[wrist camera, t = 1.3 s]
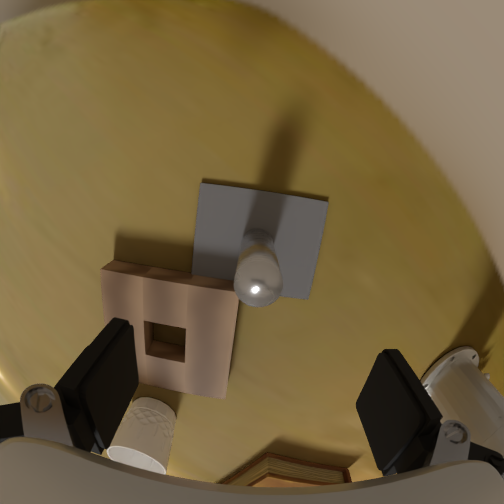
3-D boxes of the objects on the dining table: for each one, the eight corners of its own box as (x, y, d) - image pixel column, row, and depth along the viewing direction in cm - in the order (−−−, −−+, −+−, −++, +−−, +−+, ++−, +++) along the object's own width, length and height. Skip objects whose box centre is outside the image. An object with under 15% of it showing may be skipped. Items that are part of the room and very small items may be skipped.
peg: (275, 230, 26) (287, 265, 17) (270, 261, 27) (278, 309, 18) (243, 226, 26) (237, 258, 17) (239, 257, 27) (231, 303, 17)
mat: (327, 201, 26) (328, 202, 26) (307, 297, 29) (308, 299, 28) (201, 182, 26) (200, 182, 25) (191, 282, 28) (190, 283, 28)
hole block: (241, 280, 28) (239, 292, 25) (227, 382, 32) (225, 399, 29) (113, 259, 28) (100, 269, 25) (121, 361, 32) (112, 375, 29)
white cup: (143, 427, 36) (126, 474, 26) (120, 393, 34) (95, 442, 24) (188, 427, 35) (176, 480, 25) (167, 392, 33) (148, 449, 23)
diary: (280, 504, 45) (280, 523, 40) (208, 489, 43) (205, 510, 37) (348, 466, 40) (353, 488, 34) (267, 449, 37) (267, 477, 32)
